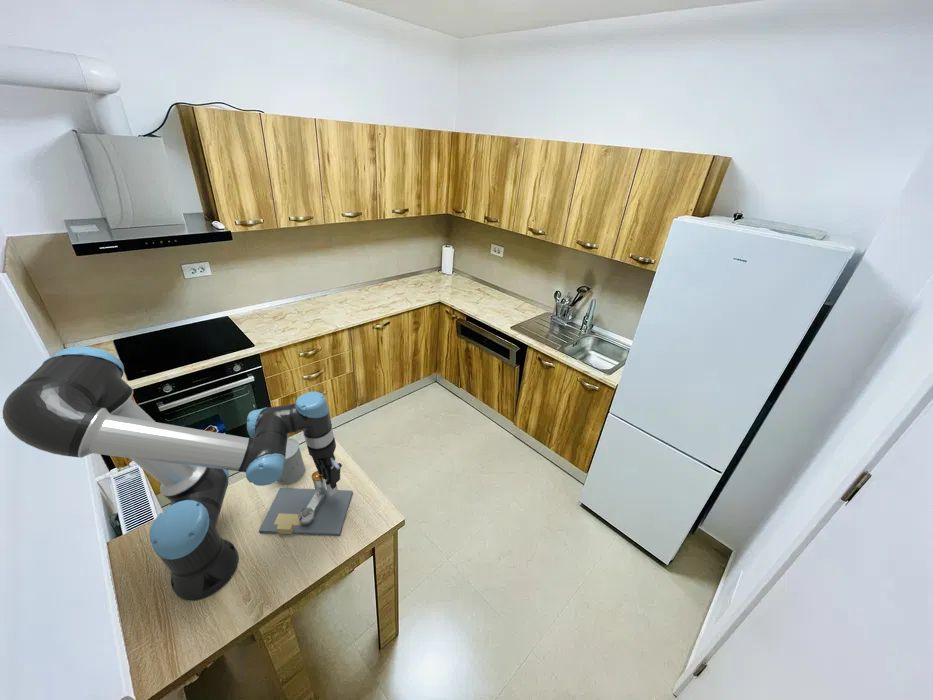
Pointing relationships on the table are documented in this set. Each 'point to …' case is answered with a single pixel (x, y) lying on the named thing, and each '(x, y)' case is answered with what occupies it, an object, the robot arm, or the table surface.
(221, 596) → the table surface
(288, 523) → the plate
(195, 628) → the table surface
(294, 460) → the grey cylinder
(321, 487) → the bar
